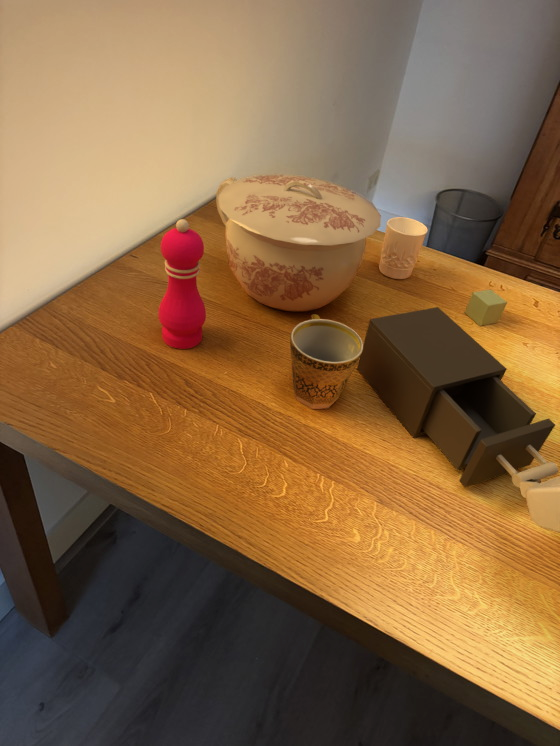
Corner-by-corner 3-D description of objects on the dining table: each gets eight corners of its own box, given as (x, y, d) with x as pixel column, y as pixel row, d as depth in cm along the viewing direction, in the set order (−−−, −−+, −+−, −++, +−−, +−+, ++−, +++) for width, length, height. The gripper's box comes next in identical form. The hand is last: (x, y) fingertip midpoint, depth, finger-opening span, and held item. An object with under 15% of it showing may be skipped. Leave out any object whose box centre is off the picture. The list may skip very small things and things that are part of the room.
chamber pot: (383, 329, 95) (415, 218, 82) (228, 338, 88) (236, 218, 75) (333, 251, 115) (352, 152, 102) (203, 253, 108) (206, 147, 95)
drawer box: (482, 418, 80) (507, 368, 74) (413, 438, 76) (433, 387, 69) (420, 354, 91) (437, 306, 85) (356, 368, 86) (370, 318, 80)
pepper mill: (192, 356, 84) (194, 237, 71) (150, 342, 85) (145, 223, 72) (212, 332, 89) (218, 216, 76) (173, 319, 90) (171, 204, 77)
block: (482, 309, 105) (490, 289, 102) (498, 322, 102) (507, 302, 99) (464, 312, 103) (472, 292, 100) (479, 326, 100) (488, 305, 97)
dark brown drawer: (555, 491, 70) (584, 451, 65) (489, 517, 66) (514, 476, 61) (461, 394, 83) (479, 354, 78) (400, 411, 78) (415, 369, 73)
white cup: (410, 285, 108) (425, 239, 102) (372, 274, 110) (384, 228, 103) (415, 267, 114) (429, 223, 108) (379, 258, 116) (391, 213, 109)
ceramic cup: (356, 416, 78) (372, 362, 71) (288, 419, 76) (298, 363, 69) (334, 359, 87) (347, 306, 81) (273, 360, 85) (281, 306, 79)
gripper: (739, 429, 54) (609, 429, 67) (598, 485, 46) (482, 472, 59) (753, 492, 54) (620, 479, 67) (615, 558, 46) (495, 529, 59)
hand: (554, 476), depth 63 cm, fingers open, 8 cm apart
